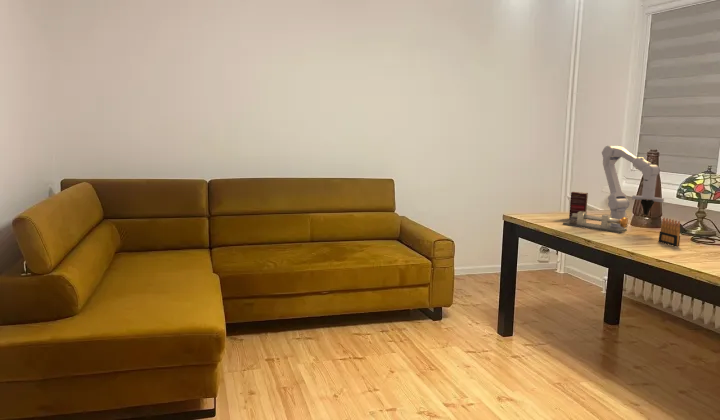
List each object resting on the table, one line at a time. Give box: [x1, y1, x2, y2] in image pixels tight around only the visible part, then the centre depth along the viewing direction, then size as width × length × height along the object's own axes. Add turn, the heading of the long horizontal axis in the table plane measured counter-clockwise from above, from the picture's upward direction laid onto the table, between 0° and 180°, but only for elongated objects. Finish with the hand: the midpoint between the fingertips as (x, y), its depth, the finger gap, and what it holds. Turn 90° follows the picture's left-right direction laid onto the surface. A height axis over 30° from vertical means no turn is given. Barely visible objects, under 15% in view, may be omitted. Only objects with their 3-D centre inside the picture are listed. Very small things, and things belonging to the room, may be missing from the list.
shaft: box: [572, 213, 629, 228], centre depth 293 cm, size 5×28×5 cm, turn 46°
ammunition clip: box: [658, 217, 681, 247], centre depth 258 cm, size 11×2×12 cm, turn 15°
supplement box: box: [568, 191, 589, 221], centre depth 317 cm, size 9×5×16 cm, turn 58°
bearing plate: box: [562, 211, 628, 234], centre depth 295 cm, size 10×30×8 cm, turn 46°
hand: (646, 214), depth 283 cm, fingers closed
